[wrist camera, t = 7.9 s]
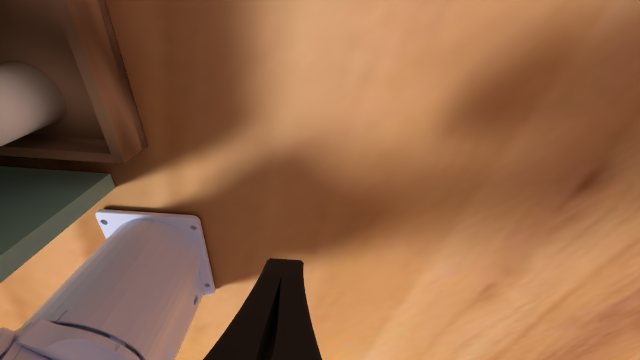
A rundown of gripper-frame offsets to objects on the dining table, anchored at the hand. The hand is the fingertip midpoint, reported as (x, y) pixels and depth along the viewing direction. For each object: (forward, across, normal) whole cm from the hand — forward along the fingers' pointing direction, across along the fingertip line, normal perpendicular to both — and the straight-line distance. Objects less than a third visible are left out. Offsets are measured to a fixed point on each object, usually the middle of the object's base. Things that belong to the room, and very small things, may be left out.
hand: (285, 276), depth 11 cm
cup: (+9, +16, -4) cm, 19 cm away
